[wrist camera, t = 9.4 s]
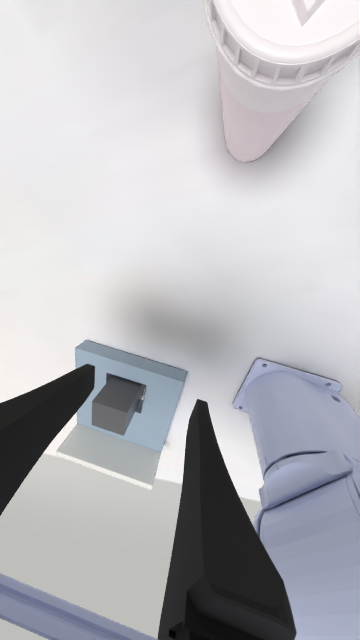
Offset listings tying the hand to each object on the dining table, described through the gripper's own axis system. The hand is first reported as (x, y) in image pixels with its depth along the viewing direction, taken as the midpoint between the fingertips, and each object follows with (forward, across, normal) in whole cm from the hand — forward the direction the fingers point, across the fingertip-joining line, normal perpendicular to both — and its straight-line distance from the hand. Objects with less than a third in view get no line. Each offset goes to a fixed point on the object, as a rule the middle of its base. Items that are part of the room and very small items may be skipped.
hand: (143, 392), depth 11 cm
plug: (+10, +4, +10) cm, 14 cm away
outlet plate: (+9, +4, +13) cm, 17 cm away
